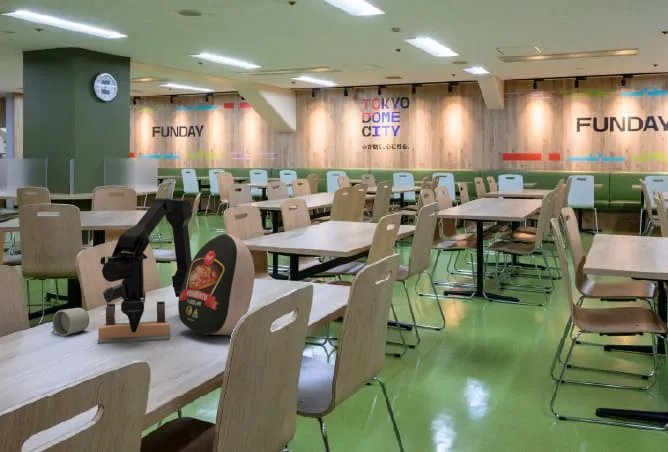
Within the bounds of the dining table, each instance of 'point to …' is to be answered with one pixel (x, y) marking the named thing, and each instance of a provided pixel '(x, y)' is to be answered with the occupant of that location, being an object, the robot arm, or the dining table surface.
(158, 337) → the mat
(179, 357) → the dining table surface
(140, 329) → the rail
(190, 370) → the dining table surface
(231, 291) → the packaged food
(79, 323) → the ceramic mug
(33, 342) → the dining table surface
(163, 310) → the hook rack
